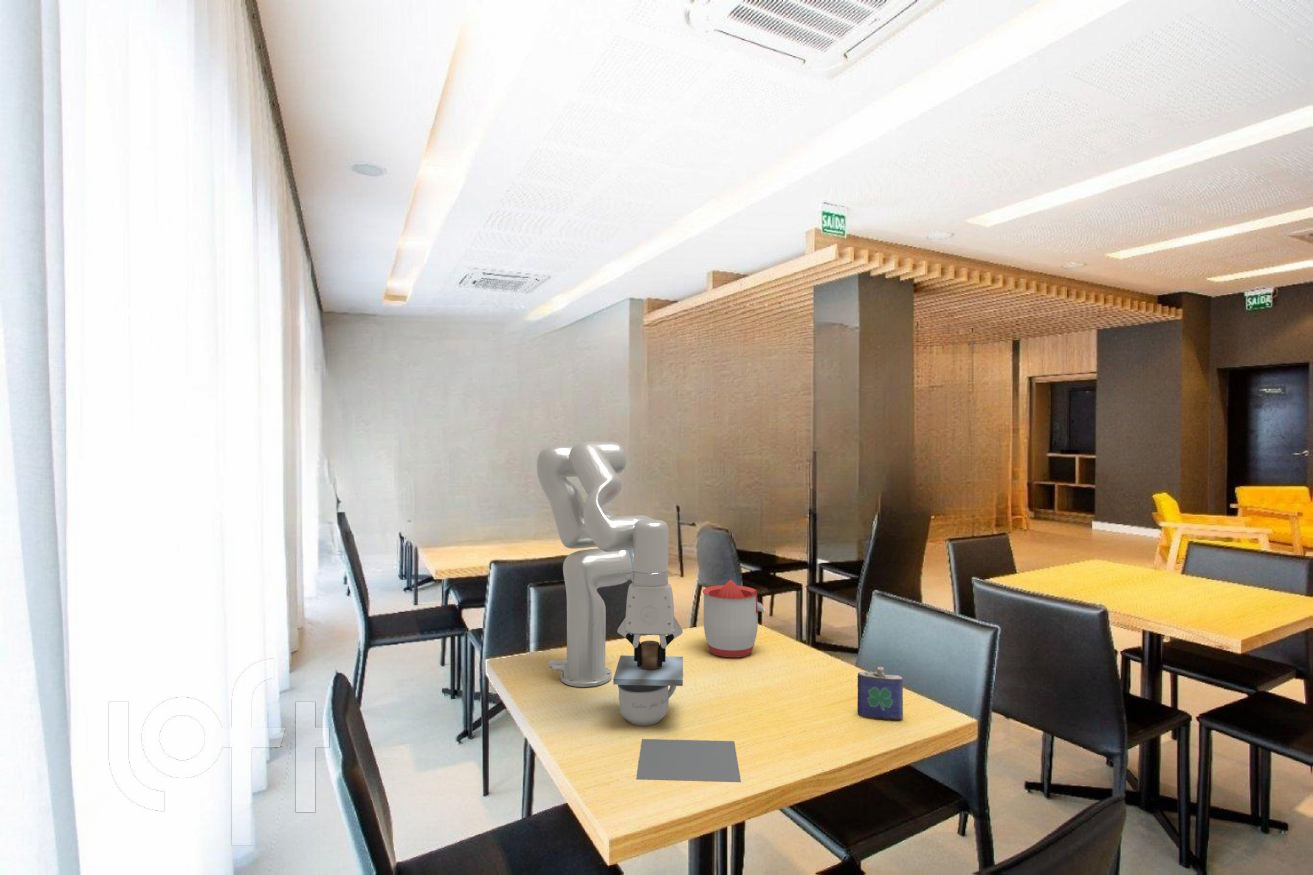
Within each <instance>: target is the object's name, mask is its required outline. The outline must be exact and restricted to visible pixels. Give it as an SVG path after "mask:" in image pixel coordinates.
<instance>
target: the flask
mask: <svg viewBox="0 0 1313 875" xmlns="http://www.w3.org/2000/svg"><path fill="white" fill-rule="evenodd" d="M884 669H885V668H884V666H883V667H882V666H877V670H876V671H874V672H873V671H869V672H868V670H864V671H860V672H858V673H857V716H858V715H859V717H861V718H864V717H865V719H869V718H871V719H870V720H878V721H880V720H882V721H888V720H891V722H892V721H893V722H901V721H900V720H902V721H903V719H904V698H903V697H904V696H903V695H904V693H903V692H904V686H903V685H904V679H903V677H902V676H900V675H899V674H898V675H897V674H885V672H884V671H885V670H884ZM894 720H895V721H894Z"/></svg>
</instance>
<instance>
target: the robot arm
mask: <svg viewBox="0 0 1313 875" xmlns="http://www.w3.org/2000/svg"><path fill="white" fill-rule="evenodd" d="M627 460H628V458H627V453H626V451H625V449H624V447H623V446H622V445H621V444H620V443H618V442H617V441H611V440H609V441H608V440H605V441H604V440H597V441H596V440H589V441H587V440H586V441H580V442H577V443H576V444H557V445H556V444H555V445H550V446H549V445H548V446H547V447H545V448H543V449H542V450H541V451H540V452H539V454H538V456H537V459H536V472H537V473H536V474H537V477H538V482H539V484H540V486H541V488H542V490H543V492H544V494H545V495H546V498H547V499H548V501H549V504H550V507H551V510H552V515H553V518H554V521H555V525H556V528H557V532H558V536H559V539H560V542H561V543H562V545H563V547H565V548H567V549H574V550H575V549H576V550H578V551H574V552H571V553H570V554H568V555H567V557H565V559H564V561H563V564H562V571H563V572H562V573H563V574H562V575H563V580H564V584H565V592H566V658H563V659H561V660H559V659H550V660H549V665H548V666H549V669H552V671H555V672H556V671H561V672H560V681H561V682H562V683H563V684H565V685H567V686H571V687H576V688H577V687H578V688H591V687H597V686H600V685H601V686H602V685H604V684H606V683H608V682H609V681H611V679H612V677H613V674H612V671H611V669H609V668H608V667H606V619H607V618H606V614H607V613H606V610H607V609H606V604H605V601H604V600H603V598H602V597H601V595H600V593H599V592H598V589H600V588H603V587H612V586H618V585H622V584H624V583H627V582H628V581H631V583H629V586H628V589H627V593H626V594H627V595H626V604H625V606H626V607H625V608H626V609H625V618H624V619H623V620H622V622H621V624H620V625H619V627H618V628H617V631H616V632H617V634H619V635H621V636H622V637H624V638H626V640H627V641H628V642H629V643H630V644H631V645H632V648H633V651H634V652H633V656H634V661H637V667H640V666H641V641H640V639H641V636H642V635H643V636H659V667H662V662H665V661H666V655H667V654H666V653H667V651H666V650H667V647H668V646H669V645H670V644H671V642H672V641H674V639H677V638H679V637H680V636H681V635H683V631H684V630H683V628H682V627H681V625H680V624H679V622H678V620H677V619H676V618H675V607H674V606H675V605H674V603H675V602H674V595H673V589H672V588H673V587H672V584H670V583H669V527H668V526H669V525H668V523H667V522H665V521H664V520H662V519H653V518H651V517H650V516H647V515H644V514H642V515H641V514H640V515H639V514H637V515H635V514H634V515H620V516H616V515H615V514H614V513H613V512H611V511H610V510H607V509H602V507H603V506H605V505H606V504H609V503H611V502H612V501H614V499H615V498H616V497H617V496H618V495H619V494H620V492H621V490H622V485H623V484H622V480H621V478H620V476H619V475H618V474H621V473H623V471H624V470H625V468H626V466H627V462H628V461H627ZM575 477H576V478H577V479H578V480H579V482H580V484H581V485H582V488H583V489H584V491H585V493H586V494H587V497H586V499H585V501H584V498H583V494H582V493H581V492H580V490H579V489H578V488H577V486H576V485H575V484H573V483H572V482H571V481H570V480H568V478H575ZM588 548H589V549H588ZM579 549H581V550H579ZM629 551H632V559H631V556H630V552H629Z"/></svg>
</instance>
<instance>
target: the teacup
mask: <svg viewBox="0 0 1313 875" xmlns="http://www.w3.org/2000/svg"><path fill="white" fill-rule="evenodd" d="M617 688H618V702H619V705H618V706H619V710H620V714H621V716H622V718H624V719H625V720H626V721H628V722H629V723H630V724H633V725H636V726H651V725H655V724H658V722H660V721H661V720H662V719H663V718H664V717H666V715H667V713H668V709H669V705H670V704H669V700H670V698H671V697H672V696H673V695H674V694H675V691H676V689H677V686H656V685H617Z"/></svg>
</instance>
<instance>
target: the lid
mask: <svg viewBox="0 0 1313 875" xmlns="http://www.w3.org/2000/svg"><path fill="white" fill-rule="evenodd" d="M640 644H641V666H640V667H637V661H634V655H625V654H624V655H622V654H621V655H620V656H619V658H618V661H617V665H616V669H615V671H614V674H613V680H612V682H613V685H614V686H616V685H617V686H618V685H656V686H668V687H670V686H676V687H684V686H683V685H684V684H683V683H684V676H683V675H684V671H683V670H684V656H674V655H673V656H668V655H667V656H666V661H665V662H662V667H659V645H660V641H656V640H644V641H640Z"/></svg>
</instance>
